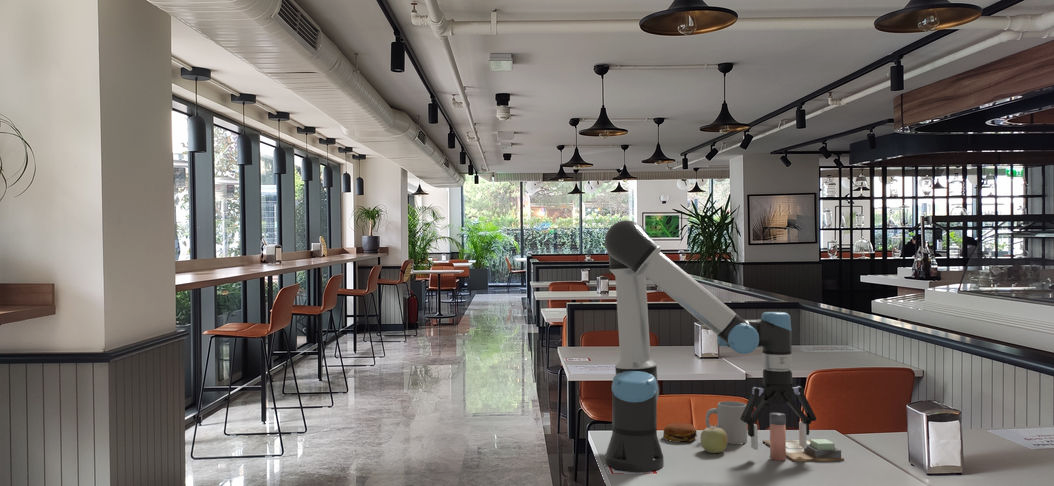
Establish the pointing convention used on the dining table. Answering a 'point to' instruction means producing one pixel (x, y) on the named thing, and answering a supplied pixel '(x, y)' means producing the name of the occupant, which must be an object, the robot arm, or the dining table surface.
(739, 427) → the mug
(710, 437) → the fruit
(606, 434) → the dining table surface
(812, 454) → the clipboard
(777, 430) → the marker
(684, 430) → the burger
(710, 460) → the dining table surface
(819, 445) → the button
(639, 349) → the robot arm
